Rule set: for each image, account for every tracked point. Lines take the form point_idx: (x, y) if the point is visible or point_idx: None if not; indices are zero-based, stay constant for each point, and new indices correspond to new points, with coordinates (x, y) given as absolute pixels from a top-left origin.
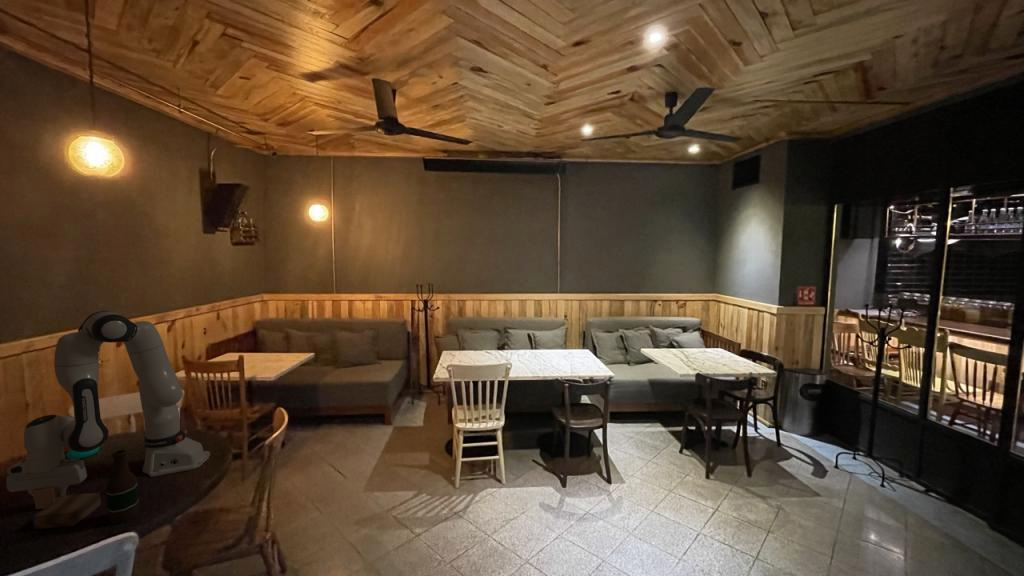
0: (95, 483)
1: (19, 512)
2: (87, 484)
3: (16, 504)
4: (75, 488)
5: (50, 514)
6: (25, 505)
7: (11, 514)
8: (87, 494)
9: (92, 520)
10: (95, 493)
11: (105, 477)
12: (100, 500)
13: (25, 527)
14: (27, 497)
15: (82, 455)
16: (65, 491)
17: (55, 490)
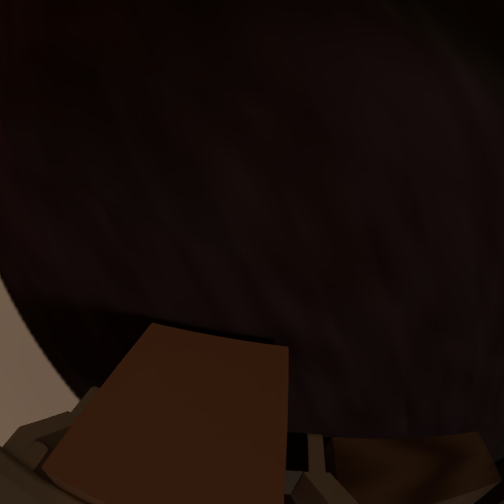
0: (429, 100)
1: (88, 380)
2: (364, 82)
3: (10, 264)
4: (281, 126)
5: None
6: (55, 305)
7: (67, 378)
8: (461, 499)
9: None
10: (487, 487)
11: (446, 23)
12: (485, 448)
13: None
14: (8, 186)
15: None
16: (323, 459)
17: None
